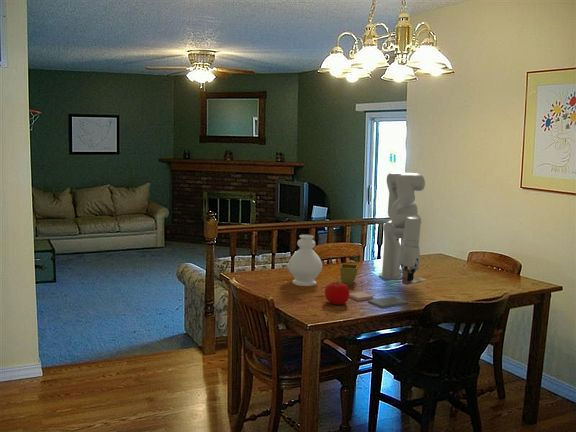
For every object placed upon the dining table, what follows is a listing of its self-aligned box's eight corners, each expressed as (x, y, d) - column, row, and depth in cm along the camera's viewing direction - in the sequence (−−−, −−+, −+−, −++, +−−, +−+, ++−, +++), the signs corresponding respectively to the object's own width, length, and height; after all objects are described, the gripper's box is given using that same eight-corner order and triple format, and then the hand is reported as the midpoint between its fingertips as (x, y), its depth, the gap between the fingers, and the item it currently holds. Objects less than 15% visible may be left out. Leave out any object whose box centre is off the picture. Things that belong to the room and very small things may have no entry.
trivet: (393, 298, 304) (393, 296, 304) (407, 303, 296) (407, 301, 296) (368, 302, 295) (368, 300, 295) (382, 308, 287) (382, 305, 287)
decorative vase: (328, 283, 326) (330, 236, 322) (305, 289, 313) (308, 240, 309) (302, 276, 338) (305, 231, 334) (280, 282, 325) (282, 234, 321)
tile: (363, 291, 308) (348, 293, 304) (373, 295, 301) (357, 297, 297) (363, 295, 308) (348, 297, 304) (372, 299, 302) (357, 301, 297)
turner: (407, 285, 297) (408, 271, 296) (400, 282, 301) (401, 269, 300) (425, 281, 303) (426, 267, 302) (418, 278, 307) (419, 264, 306)
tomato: (354, 305, 290) (355, 283, 288) (335, 308, 283) (336, 286, 282) (337, 298, 299) (339, 277, 298) (319, 301, 293) (320, 280, 291)
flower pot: (355, 285, 325) (356, 268, 324) (338, 283, 327) (339, 267, 325) (357, 281, 334) (358, 265, 332) (340, 279, 335) (341, 263, 334)
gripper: (393, 239, 301) (390, 276, 305) (417, 247, 288) (414, 285, 291) (404, 238, 305) (401, 274, 309) (428, 245, 292) (425, 283, 295)
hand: (407, 279), depth 300 cm, fingers closed on turner, 2 cm apart
